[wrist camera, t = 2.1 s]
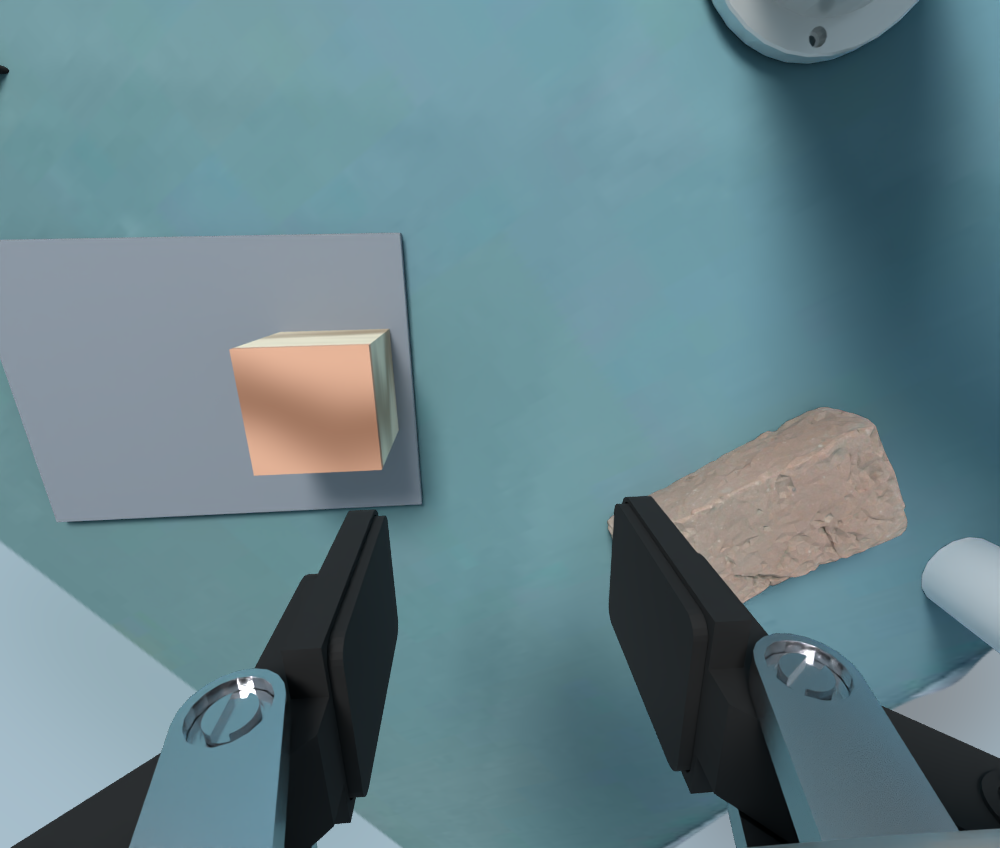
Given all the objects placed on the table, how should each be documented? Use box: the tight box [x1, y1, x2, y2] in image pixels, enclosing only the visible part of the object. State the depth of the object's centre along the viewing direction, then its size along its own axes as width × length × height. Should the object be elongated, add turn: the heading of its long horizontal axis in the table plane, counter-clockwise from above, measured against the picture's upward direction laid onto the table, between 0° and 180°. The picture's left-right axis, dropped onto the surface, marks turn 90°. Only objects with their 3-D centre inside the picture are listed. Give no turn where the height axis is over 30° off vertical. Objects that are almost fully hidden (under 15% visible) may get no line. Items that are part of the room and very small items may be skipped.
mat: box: [0, 233, 422, 522], centre depth 28 cm, size 16×22×1 cm
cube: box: [229, 329, 399, 476], centre depth 25 cm, size 6×6×6 cm
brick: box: [607, 407, 907, 603], centre depth 31 cm, size 16×8×5 cm, turn 120°
